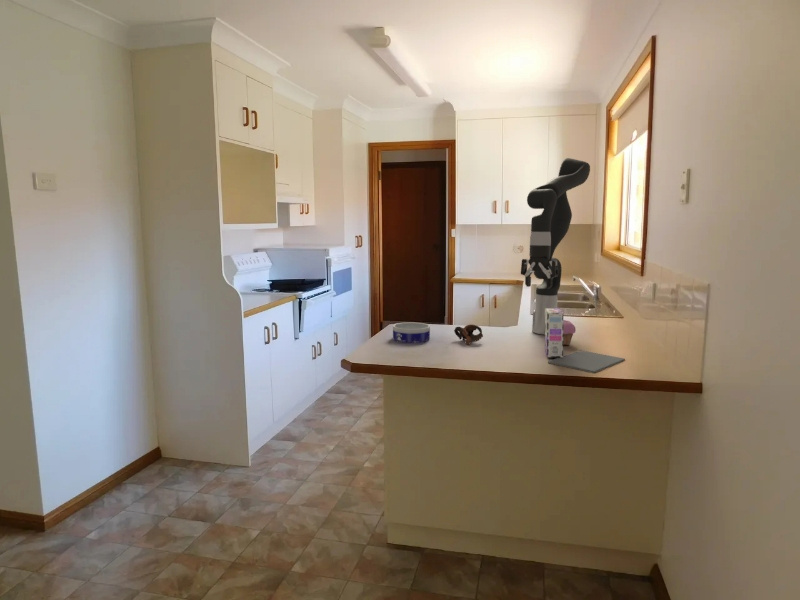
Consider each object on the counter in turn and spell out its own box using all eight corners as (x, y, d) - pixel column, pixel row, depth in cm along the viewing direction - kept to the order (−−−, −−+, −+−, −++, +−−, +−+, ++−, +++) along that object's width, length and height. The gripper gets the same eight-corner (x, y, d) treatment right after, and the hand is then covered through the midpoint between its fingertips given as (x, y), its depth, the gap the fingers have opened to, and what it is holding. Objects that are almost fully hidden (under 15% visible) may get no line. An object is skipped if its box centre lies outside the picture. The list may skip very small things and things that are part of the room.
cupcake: (568, 342, 226) (569, 318, 224) (578, 346, 217) (580, 322, 216) (547, 342, 224) (549, 318, 223) (557, 347, 216) (558, 322, 214)
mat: (548, 363, 193) (548, 361, 192) (580, 351, 209) (580, 350, 209) (594, 372, 181) (594, 371, 181) (624, 360, 198) (624, 358, 198)
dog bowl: (386, 341, 224) (386, 326, 224) (403, 334, 238) (403, 320, 237) (419, 345, 217) (420, 330, 217) (435, 338, 231) (435, 324, 230)
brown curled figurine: (482, 341, 228) (486, 326, 223) (476, 355, 221) (480, 340, 216) (455, 332, 231) (458, 317, 226) (448, 345, 224) (451, 330, 219)
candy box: (563, 358, 197) (563, 312, 195) (546, 357, 198) (546, 312, 196) (560, 350, 210) (560, 307, 208) (544, 350, 211) (544, 307, 210)
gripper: (518, 243, 206) (516, 286, 209) (552, 244, 197) (551, 289, 199) (528, 243, 212) (526, 285, 214) (562, 244, 202) (560, 288, 204)
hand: (538, 287), depth 206 cm, fingers open, 8 cm apart
